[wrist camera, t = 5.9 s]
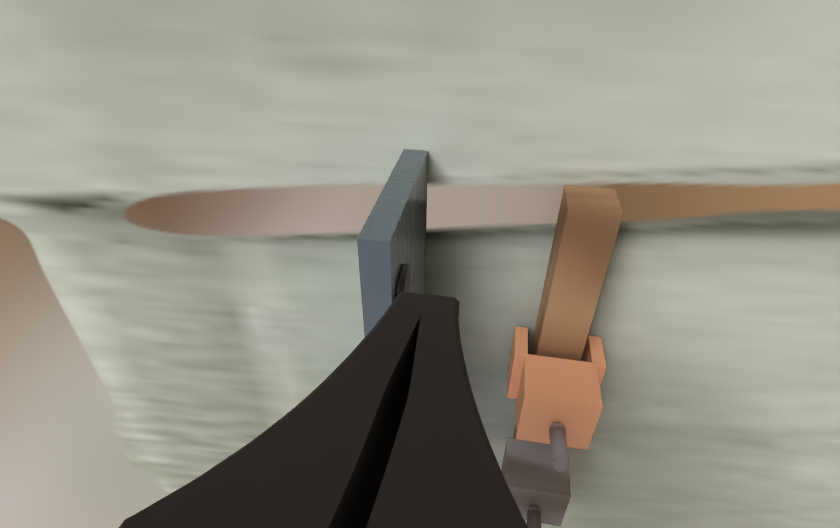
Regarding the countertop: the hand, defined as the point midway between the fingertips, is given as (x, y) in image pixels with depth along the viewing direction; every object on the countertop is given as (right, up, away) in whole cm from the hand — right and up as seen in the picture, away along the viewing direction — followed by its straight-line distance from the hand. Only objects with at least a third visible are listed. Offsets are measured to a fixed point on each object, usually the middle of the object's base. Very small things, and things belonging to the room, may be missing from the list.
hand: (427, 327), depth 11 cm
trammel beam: (+7, -3, +14) cm, 15 cm away
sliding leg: (+7, -3, +14) cm, 15 cm away
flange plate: (0, -1, +14) cm, 14 cm away
